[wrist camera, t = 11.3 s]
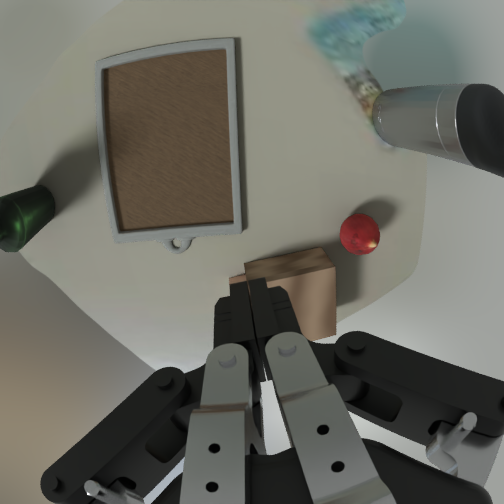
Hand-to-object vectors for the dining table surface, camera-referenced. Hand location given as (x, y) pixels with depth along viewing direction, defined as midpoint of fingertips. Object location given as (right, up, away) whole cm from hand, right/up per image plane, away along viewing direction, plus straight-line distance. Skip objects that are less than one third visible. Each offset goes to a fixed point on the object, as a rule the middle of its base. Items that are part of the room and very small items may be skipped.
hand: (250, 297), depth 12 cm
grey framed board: (-11, +16, +22) cm, 30 cm away
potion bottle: (-34, +10, +22) cm, 42 cm away
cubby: (+6, -4, +33) cm, 33 cm away
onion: (+15, +6, +29) cm, 33 cm away
